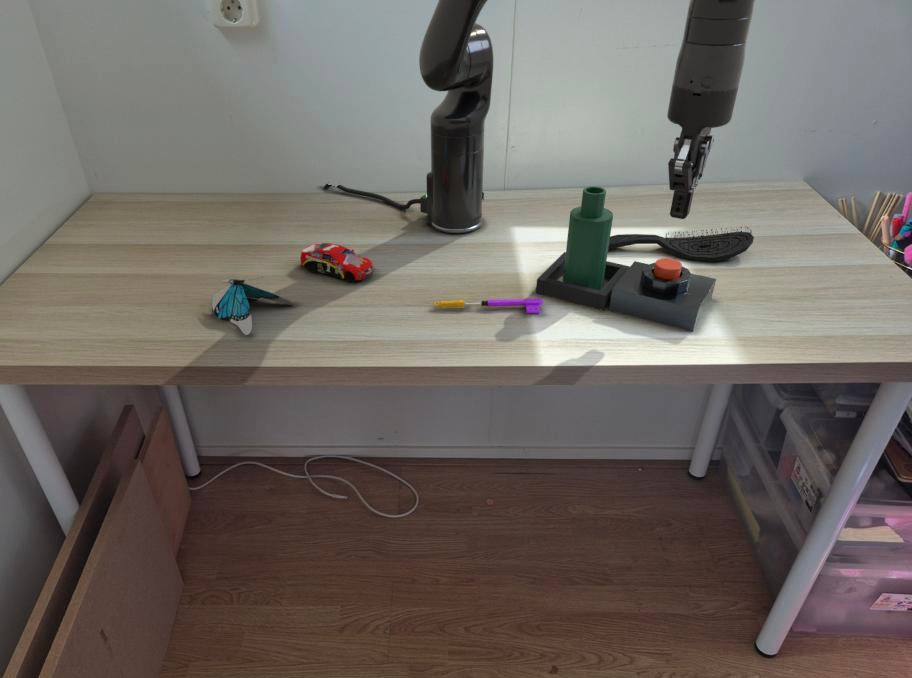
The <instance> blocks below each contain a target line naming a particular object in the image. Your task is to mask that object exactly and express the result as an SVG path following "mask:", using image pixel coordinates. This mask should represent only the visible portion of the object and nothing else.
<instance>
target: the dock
mask: <svg viewBox="0 0 912 678" xmlns="http://www.w3.org/2000/svg"><path fill="white" fill-rule="evenodd" d="M565 256H566V251H564V252H563V253H561V254H560V255H559V257H558V258H557V259H556V260H555V261H554V262H553V263H552V264H551V265H550V266H549V267H547V268H546V270H544V271H543V272H542V273H541V275H540V276H538V277H537V279H536V284H535V294H536V295H541V296H544V297H548V298H553V299H555V300H559V301H560V300H561V301H565V302H568V303H573V304H576V305H580V306H583V307H588V308H591V309H596V310H600V311H605V310H606V308H607V307H608V306H610V300H611V293H612V288H613V287H614V286H615V285H616V283H617V282H618V281H619V280H620V278H621V277H622V276H623V275H624V274H625V272H626V271H627V270H628V269H629V267H630V266H631V265H626V264H622V263H617V262H612V261H609V260H607V261H606V268H605V274H604V280H607V281H608V282H607V283H606V284H605V285H604V286H603V287H602V290H601V291H600V290H595V289H591V288H587V287H583V286H579V285H575V284H570V283H566V282H563V280H562V281H561V280H559V279H560V278H561V277H562V276H563V274H564V265H565Z"/></svg>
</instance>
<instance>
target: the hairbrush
mask: <svg viewBox="0 0 912 678" xmlns="http://www.w3.org/2000/svg"><path fill="white" fill-rule="evenodd" d="M742 228H743V226H740V230H739V229H738V228H736V230H735V229H730V232H729V230H727V229H728V227H726V228H725V231H726V232H724V230H722V229H723V228H722V227H721V228H720V231H721V233H718V230H717V228H716V229H715V232H713V230H714V229H712V228H711V229H710V231H711V234H709V232H708V229H705V235H704V229H703V230H700V231H701V234H700V235H699V234H697V235H696V236H695V235H692V236H691V234H690V233H689V231H682V233H681V232H680V231H678V233H677V231H675V232H674V234H676V233H677V234H676V235H673V236H670V237H669V235H670V232H668V233H665V236H661V235H658V234H646V233H645V234H642V233H627V234H626V233H625V234H615V235H610V241H609V247H608V250H611V249H616V248H622V247H627V246H632V245H658V246H659V247H660V248H663V249H664V250H666V251H667V252H669V253H671V254H672V255H675V256H677V257H679V258H680V259H685V260H689V261H693V262H698V263H715V262H720V261H726V260H730V259H732V258H734V257H736V256H738V255H740V254H743V253H745V252H747V250H748V249H749V248H750V247H751V246H752V245H753V243H754V240H755V237H754V235H753V234H752V233H753V232H752V229H750V227H748V226H745V231H742ZM693 232H694V233H695V230H694V231H693V230H692V231H691V233H693ZM723 232H724V233H723ZM680 233H681V234H680ZM684 233H687V234H684ZM714 233H715V234H714ZM667 235H668V236H667ZM685 235H686V236H685Z"/></svg>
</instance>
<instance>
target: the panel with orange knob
mask: <svg viewBox="0 0 912 678" xmlns="http://www.w3.org/2000/svg"><path fill="white" fill-rule="evenodd" d="M629 266H630V267H629V269H628V270H627V271H626V272H625V274H624V275H623V276H622V277H621V278H620V280H619V281H618V282H617V283H616V285H615V286H614V287H613V288H612V293H611V300H610V303H609V305H608V306H609V307H608V311H609V312H613V313H617V314H620V315H624V316H628V317H629V316H630V317H633V318H637V319H641V320H645V321H648V322H653V323H657V324H660V325H665V326H668V327H672V328H676V329H679V330H680V329H681V330H684V331H687V332H693V333H694V331H695V329H696V327H697V326H698V324H699V322H700V320H702V319H701V318H703V315H704V313H705V312H706V311H707V308H708V306H709V305H710V304H711V302H712V299H713V294H714V290H715V286H716V283H717V278H715V277H710V276H705V275H700V274H697V273H691V271H690V269H689V268H687V267H685V266H684V265H682V268H681V273H680V277H679V278H677V279H663V278H659V277H657V276H655V275H654V274H653V272H654V267H655V262H652V263H645V262H640V261H635V260H634V261H633V262H632V263H631V265H629Z"/></svg>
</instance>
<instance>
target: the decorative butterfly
mask: <svg viewBox="0 0 912 678" xmlns="http://www.w3.org/2000/svg"><path fill="white" fill-rule="evenodd" d="M261 278H263V276H261V277H260V279H261ZM258 279H259V277H258V278H256V280H258ZM250 280H251V281H252V280H253V278H251V279H249V281H250ZM245 281H246V280H245V279H237V278H233V279H225V280H224V279H223V280H221V281H220V282H221V283H224V284H225V283H226V284H227V285H226V286H225V287H224V288H223V289H221V290H218V291H217V292H216V293H214V295H213V298H212V310H213V313H214V316H215V317H216V318H218V320H219V319H220V320H222V321H226V320H228V319H229V322H230V323H231V324H234V325H235V326H237V327H238V328H239V330H240V331H241V333H243V335H245V336H249V335H250V333H252V329H253V320H252V313H251V312H252V311H251V307H250V303H249V300H248V299H247V298H250V299H256V300H260V299H264V300H268V301H272V302H279V303H282V304H286V305H288V306H289V305H290V306H293V305H295V304H294V302H293V301H291V300H289V299H287V298H285V297H282V296H280V295H278V294H275V293H273V292H270V291H267V290H264V289H261V288H258V287H255V286H253V285H250V284H247V283H246V282H245Z"/></svg>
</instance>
